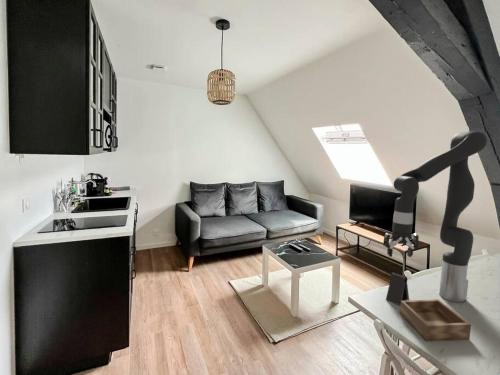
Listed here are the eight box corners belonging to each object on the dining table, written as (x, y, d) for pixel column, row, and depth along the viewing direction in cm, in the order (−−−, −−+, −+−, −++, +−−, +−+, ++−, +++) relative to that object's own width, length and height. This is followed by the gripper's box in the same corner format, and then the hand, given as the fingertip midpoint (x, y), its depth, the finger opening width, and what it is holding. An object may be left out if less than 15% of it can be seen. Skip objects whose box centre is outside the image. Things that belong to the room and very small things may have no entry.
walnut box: (437, 312, 111) (438, 299, 111) (469, 339, 96) (471, 324, 95) (399, 313, 111) (400, 300, 110) (426, 341, 95) (427, 326, 94)
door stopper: (399, 305, 117) (401, 280, 115) (385, 299, 122) (387, 275, 120) (409, 298, 122) (410, 274, 120) (395, 293, 127) (397, 269, 125)
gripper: (414, 219, 121) (410, 253, 123) (382, 218, 121) (379, 252, 123) (424, 223, 113) (420, 259, 115) (390, 223, 114) (387, 259, 116)
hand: (399, 256), depth 119 cm, fingers open, 8 cm apart
